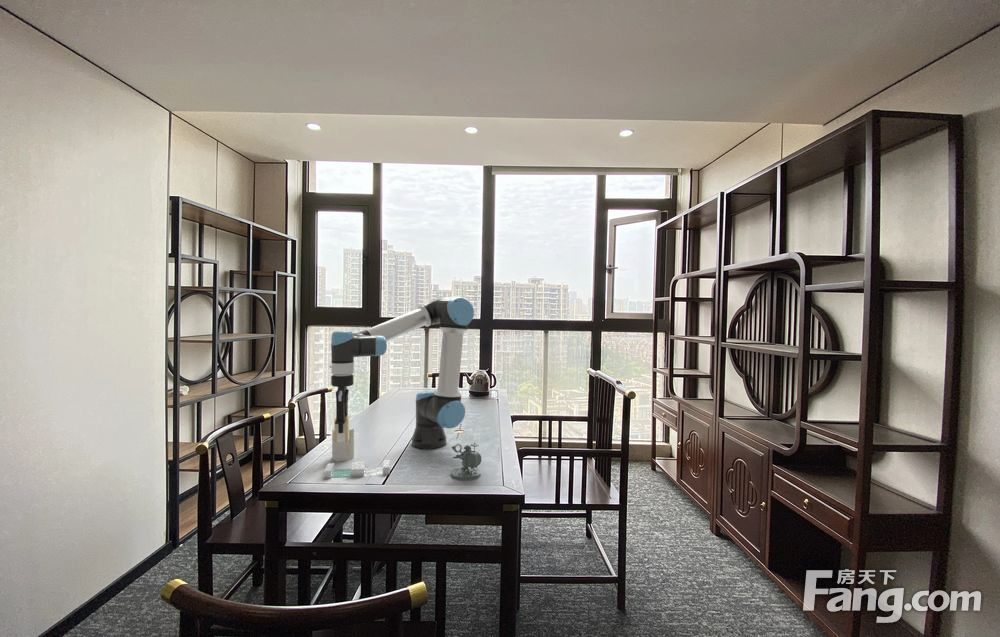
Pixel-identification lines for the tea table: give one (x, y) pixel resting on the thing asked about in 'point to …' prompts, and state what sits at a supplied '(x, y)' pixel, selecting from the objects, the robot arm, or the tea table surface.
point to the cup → (343, 447)
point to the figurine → (467, 463)
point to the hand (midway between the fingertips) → (342, 439)
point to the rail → (356, 470)
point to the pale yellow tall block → (345, 429)
